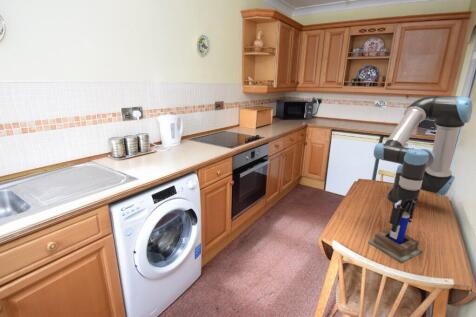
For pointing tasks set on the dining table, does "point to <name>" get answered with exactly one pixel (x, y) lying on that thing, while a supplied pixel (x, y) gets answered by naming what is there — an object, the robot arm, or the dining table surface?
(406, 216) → the beverage can
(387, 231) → the socket block
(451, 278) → the dining table surface
